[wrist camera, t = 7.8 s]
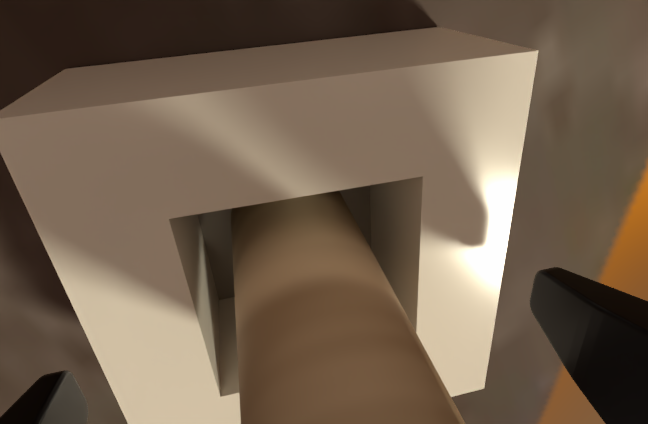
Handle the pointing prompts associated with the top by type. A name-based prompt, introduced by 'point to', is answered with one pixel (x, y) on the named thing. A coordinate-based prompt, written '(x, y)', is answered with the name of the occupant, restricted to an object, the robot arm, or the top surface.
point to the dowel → (324, 323)
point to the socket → (271, 193)
